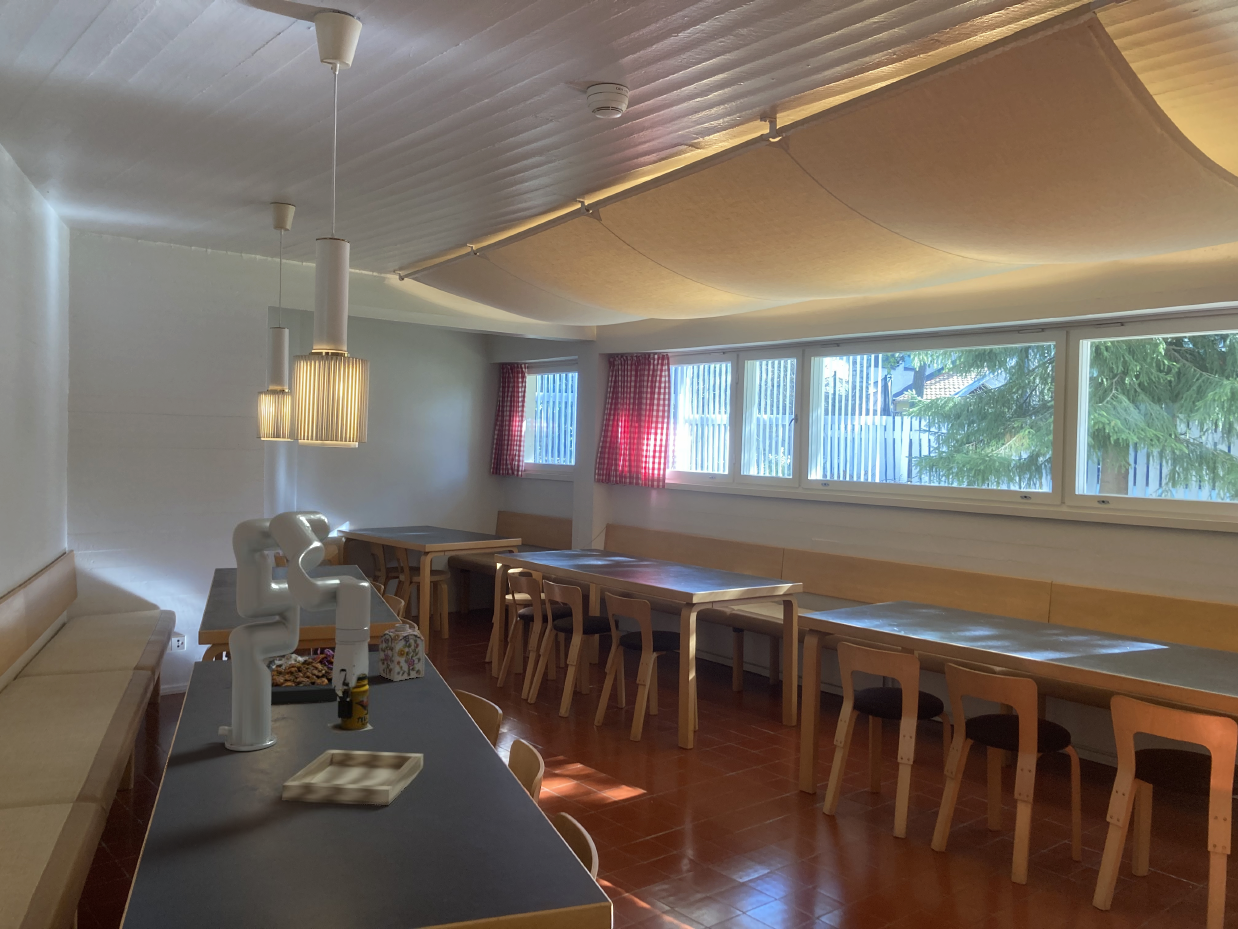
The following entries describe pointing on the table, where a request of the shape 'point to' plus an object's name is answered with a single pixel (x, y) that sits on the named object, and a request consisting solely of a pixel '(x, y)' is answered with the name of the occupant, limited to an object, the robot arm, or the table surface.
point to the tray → (353, 777)
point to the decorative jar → (401, 653)
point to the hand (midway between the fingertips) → (351, 713)
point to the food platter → (302, 679)
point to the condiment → (356, 709)
